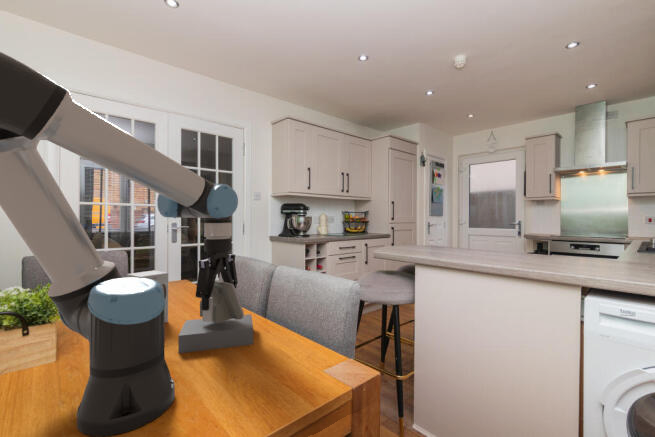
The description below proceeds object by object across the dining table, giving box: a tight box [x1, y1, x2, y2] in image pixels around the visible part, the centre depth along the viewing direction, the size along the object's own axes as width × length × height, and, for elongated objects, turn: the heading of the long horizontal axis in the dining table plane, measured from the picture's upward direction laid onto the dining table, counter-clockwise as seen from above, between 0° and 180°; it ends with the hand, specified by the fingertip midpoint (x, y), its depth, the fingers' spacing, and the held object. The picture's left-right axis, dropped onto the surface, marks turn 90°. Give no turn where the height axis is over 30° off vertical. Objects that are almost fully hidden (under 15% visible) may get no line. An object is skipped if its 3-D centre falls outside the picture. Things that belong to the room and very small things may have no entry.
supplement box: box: [126, 269, 169, 324], centre depth 100 cm, size 10×9×17 cm
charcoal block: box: [177, 314, 254, 354], centre depth 87 cm, size 12×19×5 cm, turn 107°
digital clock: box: [199, 279, 245, 323], centre depth 87 cm, size 16×9×11 cm, turn 40°
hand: (218, 315), depth 87 cm, fingers closed on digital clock, 9 cm apart
